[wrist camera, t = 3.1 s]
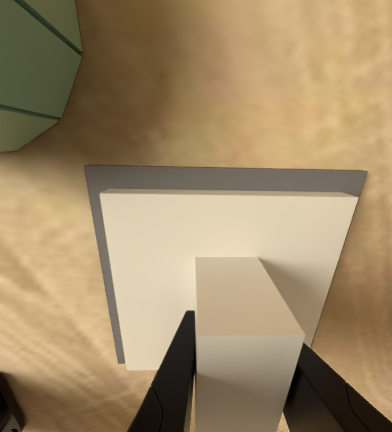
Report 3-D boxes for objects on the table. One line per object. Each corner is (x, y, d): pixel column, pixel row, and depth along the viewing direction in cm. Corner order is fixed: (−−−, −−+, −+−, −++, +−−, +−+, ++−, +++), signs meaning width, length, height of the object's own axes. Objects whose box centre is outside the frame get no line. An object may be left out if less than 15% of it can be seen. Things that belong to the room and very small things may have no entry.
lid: (295, 351, 13) (355, 469, 8) (131, 353, 12) (95, 477, 8) (341, 192, 9) (501, 240, 4) (109, 188, 9) (14, 236, 4)
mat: (303, 354, 14) (306, 360, 13) (120, 357, 13) (118, 363, 13) (360, 170, 9) (368, 171, 9) (88, 164, 9) (83, 165, 8)
